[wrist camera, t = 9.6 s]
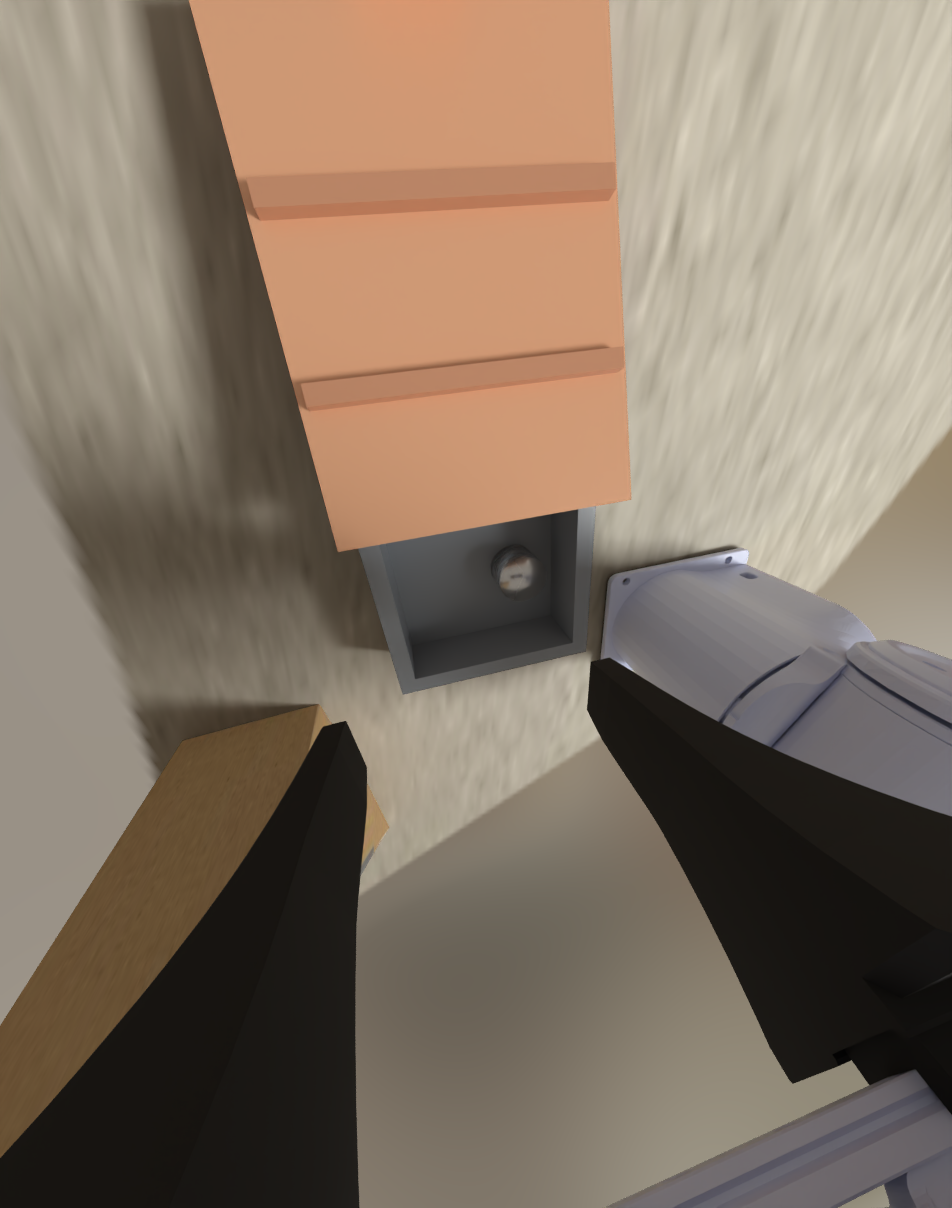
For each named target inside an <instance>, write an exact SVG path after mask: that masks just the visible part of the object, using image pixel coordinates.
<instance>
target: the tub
mask: <svg viewBox="0 0 952 1208" xmlns="http://www.w3.org/2000/svg"><path fill="white" fill-rule="evenodd" d="M595 511H596V506H593V507H587V508H582V509H576V510H571V511H565V512H560V513H554V514H548V515H543V516H537V517H532V518H526V519H520V520H515V521H509V522H504V523H498V524H492V525H487V526H481V527H476V528H470V529H464V530H459V531H453V532H448V533H442V534H436V535H431V536H425V537H420V538H414V539H408V540H403V541H397V542H392V543H386V544H380V545H375V546H369V547H364V548H358V549H359V553H360V556H361V559H362V563H363V566H364V569H365V572H366V576H367V579H368V582H369V585H370V589H371V592H372V595H373V599H374V602H375V605H376V608H377V612H378V615H379V618H380V621H381V625H382V628H383V631H384V635H385V638H386V641H387V644H388V648H389V651H390V654H391V657H392V661H393V664H394V667H395V671H396V674H397V677H398V680H399V684H400V687H401V690H402V693H403V694H408V693H412V692H416V691H420V690H425V689H429V688H433V687H437V686H441V685H446V684H450V683H454V682H458V681H463V680H467V679H471V678H475V677H480V676H484V675H488V674H492V673H496V672H501V671H505V670H509V669H513V668H518V667H522V666H526V665H530V664H535V663H539V662H543V661H547V660H552V659H556V658H560V657H564V656H568V655H573V654H577V653H581V652H585V651H586V645H587V630H588V615H589V600H590V585H591V571H592V556H593V541H594V526H595ZM509 545H521V546H524V547H526V548H527V549H528V550H529V551H530V552H531V553H532V554H533V555H534V556H535V557H536V558H537V559H538V560H539V561H540V562H541V563H542V564H543V565H544V567H545V570H546V582H545V585H544V587H543V588H542V590H541V591H540V592H539V593H538V594H537V595H536V596H534V597H533V598H531V599H529V600H526V601H513V600H510V599H509V598H507V597H506V596H505V595H504V594H503V592H502V591H501V589H500V587H499V586H498V584H497V583H496V581H495V579H494V578H493V576H492V573H491V564H492V561H493V558H494V557H495V555H496V554H497V553H498V552H499V551H500V550H501V549H503V548H504V547H506V546H509Z"/></svg>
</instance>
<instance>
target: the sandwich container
mask: <svg viewBox="0 0 952 1208" xmlns="http://www.w3.org/2000/svg"><path fill="white" fill-rule="evenodd" d="M331 724H332V723H331V722H330V720H329V718H328V717H327V715H326V714H325V712H324V711H323V709H322V707H321V706H320V705H319V704H317V705H313V706H310V707H306V708H302V709H298V710H295V711H291V712H287V713H283V714H280V715H276V716H272V717H268V718H265V719H261V720H257V721H254V722H250V723H246V724H242V725H239V726H235V727H231V728H228V729H224V730H220V731H217V732H213V733H209V734H206V735H202V736H198V737H195V738H191V739H187V740H184V741H182V742H181V744H180V745H179V747H178V748H177V750H176V752H175V753H174V755H173V756H172V758H171V759H170V761H169V763H168V764H167V766H166V767H165V769H164V770H163V772H162V773H161V775H160V777H159V778H158V780H157V781H156V783H155V784H154V786H153V787H152V789H151V791H150V792H149V794H148V795H147V797H146V799H145V800H144V802H143V803H142V805H141V806H140V808H139V809H138V811H137V812H136V814H135V816H134V817H133V819H132V820H131V822H130V823H129V825H128V827H127V828H126V830H125V831H124V833H123V835H122V836H121V838H120V839H119V841H118V842H117V844H116V846H115V847H114V849H113V850H112V852H111V853H110V855H109V856H108V858H107V859H106V861H105V863H104V864H103V866H102V867H101V869H100V870H99V872H98V873H97V875H96V877H95V878H94V880H93V881H92V883H91V884H90V886H89V888H88V889H87V891H86V893H85V894H84V895H83V897H82V898H81V900H80V902H79V903H78V905H77V906H76V908H75V909H74V911H73V913H72V914H71V916H70V918H69V919H68V920H67V922H66V924H65V925H64V927H63V928H62V930H61V931H60V933H59V934H58V936H57V938H56V939H55V941H54V942H53V944H52V946H51V947H50V949H49V950H48V952H47V953H46V955H45V956H44V958H43V960H42V961H41V963H40V964H39V966H38V967H37V969H36V971H35V972H34V974H33V975H32V977H31V978H30V980H29V982H28V983H27V985H26V987H25V988H24V990H23V991H22V992H21V994H20V996H19V997H18V999H17V1000H16V1002H15V1004H14V1005H13V1007H12V1008H11V1010H10V1011H9V1013H8V1014H7V1016H6V1018H5V1019H4V1021H3V1022H2V1024H1V1026H0V1158H1V1157H2V1155H3V1154H4V1153H5V1152H6V1151H7V1150H8V1149H9V1148H10V1147H11V1145H12V1144H13V1143H14V1142H15V1141H16V1140H17V1139H18V1138H19V1137H20V1136H21V1134H22V1133H23V1132H24V1131H25V1130H26V1129H27V1128H28V1127H29V1126H30V1125H31V1123H32V1122H33V1121H34V1120H35V1119H36V1118H37V1117H38V1116H39V1115H40V1113H41V1112H42V1111H43V1110H44V1109H45V1108H46V1107H47V1106H48V1105H49V1103H50V1102H51V1101H52V1100H53V1099H54V1098H55V1097H56V1095H57V1094H58V1093H59V1092H60V1091H61V1090H62V1088H63V1087H64V1086H65V1085H66V1084H67V1083H68V1082H69V1080H70V1079H71V1078H72V1077H73V1076H74V1075H75V1074H76V1072H77V1071H78V1070H79V1069H80V1068H81V1066H82V1065H83V1064H84V1063H85V1062H86V1060H87V1059H88V1058H89V1057H90V1056H91V1055H92V1053H93V1052H94V1051H95V1050H96V1049H97V1047H98V1046H99V1045H100V1044H101V1043H102V1042H103V1040H104V1039H105V1038H106V1037H107V1036H108V1034H109V1033H110V1032H111V1031H112V1030H113V1028H114V1027H115V1026H116V1025H117V1024H118V1023H119V1021H120V1020H121V1019H122V1018H123V1017H124V1015H125V1014H126V1013H127V1012H128V1011H129V1009H130V1008H131V1007H132V1006H133V1005H134V1004H135V1002H136V1001H137V1000H138V999H139V998H140V996H141V995H142V994H143V993H144V991H145V990H146V989H147V988H148V987H149V985H150V984H151V983H152V982H153V980H154V979H155V978H156V977H157V975H158V974H159V973H160V972H161V970H162V969H163V968H164V967H165V965H166V964H167V963H168V961H169V960H170V959H171V958H172V956H173V955H174V954H175V952H176V951H177V950H178V948H179V947H180V946H181V944H182V943H183V942H184V941H185V939H186V938H187V937H188V935H189V934H190V933H191V931H192V930H193V929H194V928H195V926H196V925H197V924H198V922H199V921H200V920H201V918H202V917H203V916H204V914H205V913H206V912H207V910H208V909H209V908H210V906H211V905H212V903H213V902H214V901H215V899H216V898H217V896H218V895H219V894H220V892H221V891H222V890H223V888H224V887H225V885H226V884H227V882H228V881H229V880H230V878H231V877H232V875H233V874H234V872H235V871H236V869H237V868H238V867H239V865H240V864H241V862H242V861H243V859H244V858H245V856H246V855H247V853H248V852H249V850H250V849H251V847H252V845H253V844H254V842H255V841H256V839H257V838H258V836H259V835H260V833H261V831H262V830H263V828H264V827H265V825H266V824H267V822H268V821H269V819H270V817H271V816H272V814H273V813H274V811H275V809H276V808H277V806H278V804H279V802H280V801H281V799H282V797H283V796H284V794H285V792H286V791H287V789H288V787H289V786H290V784H291V782H292V781H293V779H294V777H295V775H296V773H297V772H298V770H299V768H300V766H301V765H302V763H303V761H304V759H305V757H306V756H307V754H308V752H309V750H310V748H311V747H312V745H313V743H314V741H315V739H316V737H317V736H318V734H319V732H320V730H321V729H322V727H323V726H327V725H331ZM388 829H389V826H388V824H387V822H386V820H385V818H384V816H383V814H382V812H381V810H380V808H379V806H378V804H377V802H376V800H375V798H374V796H373V794H372V792H371V790H370V788H369V786H368V784H367V813H366V824H365V835H364V845H363V855H362V865H361V874H362V872H363V871H364V869H365V867H366V866H367V864H368V862H369V860H370V859H371V857H372V855H373V853H374V852H375V850H376V848H377V847H378V845H379V843H380V842H381V840H382V839H383V837H384V835H385V834H386V832H387V831H388ZM360 876H361V875H360Z"/></svg>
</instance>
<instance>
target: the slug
mask: <svg viewBox="0 0 952 1208" xmlns="http://www.w3.org/2000/svg"><path fill="white" fill-rule="evenodd" d="M491 573H492V576H493V578H494V579H495V581H496V583H497V584H498V586H499V587H500V589H501V591H502V592H503V594H504V595H505V596H506V597H507V598H509V599H510V600H513V601H526V600H529V599H531V598H533V597H534V596H536V595H537V594H538V593H539V592H540V591H541V590H542V588H543V587H544V585H545V582H546V570H545V567H544V565H543V564H542V563H541V562H540V561H539V560H538V559H537V558H536V557H535V556H534V555H533V554H532V553H531V552H530V551H529V550H528V549H527V548H526V547H524V546H521V545H509V546H506V547H504V548H503V549H501V550H500V551H499V552H498V553H497V554H496V555H495V557H494V558H493V561H492V564H491Z"/></svg>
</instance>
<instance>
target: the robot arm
mask: <svg viewBox="0 0 952 1208" xmlns="http://www.w3.org/2000/svg"><path fill="white" fill-rule="evenodd" d="M748 556H749V551H748V550H746V549H744V548H737V549H732V550H727V551H723V552H718V553H713V554H708V555H703V556H699V557H694V558H689V559H684V560H679V561H674V562H670V563H665V564H660V565H655V566H650V567H646V568H641V569H636V570H631V571H626V572H622V573H617V574H614V575H612V576H611V577H610V579H609V581H608V587H607V597H606V608H605V618H604V628H603V639H602V649H601V660H597V661H593V662H591V666H590V679H589V692H588V705H587V710H588V712H589V715H590V717H591V719H592V721H593V723H594V725H595V727H596V729H597V731H598V732H599V734H600V736H601V738H602V740H603V742H604V743H605V745H606V746H607V748H608V750H609V751H610V753H611V754H612V756H613V757H614V759H615V760H616V761H617V763H618V765H619V766H620V768H621V769H622V771H623V772H624V774H625V775H626V777H627V778H628V780H629V781H630V783H631V784H632V786H633V787H634V789H635V790H636V792H637V793H638V795H639V796H640V798H641V799H642V801H643V802H644V803H645V805H646V807H647V808H648V810H649V811H650V813H651V814H652V816H653V817H654V819H655V821H656V822H657V824H658V825H659V827H660V829H661V830H662V832H663V834H664V836H665V838H666V839H667V841H668V843H669V845H670V847H671V849H672V850H673V852H674V854H675V856H676V858H677V859H678V861H679V863H680V865H681V867H682V868H683V870H684V872H685V874H686V876H687V878H688V880H689V882H690V884H691V886H692V888H693V889H694V891H695V893H696V895H697V897H698V899H699V901H700V903H701V904H702V907H703V908H704V910H705V912H706V914H707V916H708V918H709V920H710V922H711V924H712V926H713V928H714V930H715V932H716V934H717V936H718V938H719V940H720V942H721V944H722V946H723V948H724V950H725V952H726V954H727V956H728V958H729V960H730V962H731V965H732V967H733V969H734V971H735V973H736V975H737V977H738V979H739V982H740V984H741V986H742V988H743V990H744V992H745V994H746V996H747V998H748V1000H749V1003H750V1005H751V1007H752V1009H753V1011H754V1013H755V1015H756V1017H757V1020H758V1022H759V1024H760V1026H761V1029H762V1031H763V1033H764V1035H765V1038H766V1039H767V1042H768V1044H769V1046H770V1048H771V1050H772V1052H773V1053H774V1055H775V1057H776V1059H777V1060H778V1062H779V1063H780V1065H781V1067H782V1069H783V1070H784V1072H785V1074H786V1075H787V1077H788V1079H789V1080H790V1081H791V1082H792V1083H796V1082H799V1081H801V1080H804V1079H806V1078H809V1077H811V1076H814V1075H816V1074H819V1073H821V1072H824V1071H827V1070H829V1069H832V1068H835V1067H837V1066H840V1065H842V1064H844V1063H846V1062H849V1061H851V1060H852V1061H853V1063H854V1064H855V1065H856V1067H857V1068H858V1070H859V1071H860V1072H861V1074H862V1075H863V1077H864V1078H865V1080H866V1081H867V1082H868V1084H869V1085H870V1086H867V1087H865V1088H863V1089H861V1090H859V1091H857V1092H855V1093H852V1094H850V1095H848V1096H846V1097H844V1098H842V1099H839V1100H837V1101H835V1102H833V1103H830V1104H828V1105H826V1106H824V1107H822V1108H820V1109H817V1110H815V1111H813V1112H811V1113H809V1114H807V1115H804V1116H803V1117H800V1118H798V1119H796V1120H793V1121H791V1122H789V1123H787V1124H785V1125H783V1126H781V1127H778V1128H776V1129H774V1130H772V1131H770V1132H768V1133H765V1134H763V1135H761V1136H759V1137H757V1138H754V1139H752V1140H750V1141H748V1142H746V1143H744V1144H741V1145H739V1146H737V1147H735V1148H733V1149H730V1150H728V1151H726V1152H724V1153H722V1154H720V1155H717V1156H715V1157H713V1158H711V1159H709V1160H707V1161H704V1162H702V1163H700V1164H698V1165H696V1166H694V1167H691V1168H689V1169H687V1170H685V1171H683V1172H680V1173H678V1174H676V1175H674V1176H672V1177H670V1178H667V1179H665V1180H663V1181H661V1182H659V1183H657V1184H654V1185H652V1186H650V1187H648V1188H646V1189H644V1190H641V1191H639V1192H637V1193H635V1194H633V1195H630V1196H629V1197H626V1198H624V1199H622V1200H620V1201H617V1202H615V1203H613V1204H611V1205H609V1206H607V1207H604V1208H838V1207H840V1206H842V1205H844V1204H845V1203H848V1202H850V1201H852V1200H854V1199H856V1198H857V1197H859V1196H861V1195H863V1194H865V1193H867V1192H869V1191H871V1190H873V1189H875V1188H877V1187H879V1186H881V1185H883V1184H884V1186H885V1190H886V1193H887V1196H888V1199H889V1204H890V1206H889V1207H887V1208H952V660H951V659H949V658H946V657H943V656H941V655H938V654H935V653H933V652H930V651H927V650H924V649H921V648H918V647H915V646H912V645H909V644H905V643H902V642H898V641H894V640H882V641H877V640H876V639H875V637H874V635H873V634H872V633H871V631H870V630H869V629H868V628H867V626H866V625H865V624H864V623H863V622H862V621H861V620H860V619H859V618H857V617H856V616H855V615H854V614H853V613H851V612H850V611H848V610H847V609H845V608H844V607H842V606H840V605H837V604H835V603H833V602H831V601H829V600H827V599H824V598H822V597H819V596H817V595H815V594H813V593H811V592H808V591H806V590H804V589H801V588H799V587H797V586H795V585H792V584H790V583H788V582H785V581H783V580H781V579H779V578H776V577H774V576H772V575H769V574H767V573H765V572H763V571H760V570H758V569H756V568H753V567H751V566H749V565H746V563H747V560H748ZM625 578H626V581H625V582H623V580H624V579H625ZM622 582H623V583H622ZM631 670H634V671H635V673H634V672H633V671H631ZM366 813H367V767H366V764H365V762H364V760H363V758H362V755H361V753H360V751H359V749H358V746H357V744H356V742H355V740H354V738H353V735H352V733H351V731H350V729H349V726H348V724H347V722H346V721H344V722H339V723H335V724H331V725H327V726H323V727H322V729H321V730H320V732H319V734H318V736H317V737H316V739H315V741H314V743H313V745H312V747H311V748H310V750H309V752H308V754H307V756H306V757H305V759H304V761H303V763H302V765H301V766H300V768H299V770H298V772H297V773H296V775H295V777H294V779H293V781H292V782H291V784H290V786H289V787H288V789H287V791H286V792H285V794H284V796H283V797H282V799H281V801H280V802H279V804H278V806H277V808H276V809H275V811H274V813H273V814H272V816H271V817H270V819H269V821H268V822H267V824H266V825H265V827H264V828H263V830H262V831H261V833H260V835H259V836H258V838H257V839H256V841H255V842H254V844H253V845H252V847H251V849H250V850H249V852H248V853H247V855H246V856H245V858H244V859H243V861H242V862H241V864H240V865H239V867H238V868H237V869H236V871H235V872H234V874H233V875H232V877H231V878H230V880H229V881H228V882H227V884H226V885H225V887H224V888H223V890H222V891H221V892H220V894H219V895H218V896H217V898H216V899H215V901H214V902H213V903H212V905H211V906H210V908H209V909H208V910H207V912H206V913H205V914H204V916H203V917H202V918H201V920H200V921H199V922H198V924H197V925H196V926H195V928H194V929H193V930H192V931H191V933H190V934H189V935H188V937H187V938H186V939H185V941H184V942H183V943H182V944H181V946H180V947H179V948H178V950H177V951H176V952H175V954H174V955H173V956H172V958H171V959H170V960H169V961H168V963H167V964H166V965H165V967H164V968H163V969H162V970H161V972H160V973H159V974H158V975H157V977H156V978H155V979H154V980H153V982H152V983H151V984H150V985H149V987H148V988H147V989H146V990H145V991H144V993H143V994H142V995H141V996H140V998H139V999H138V1000H137V1001H136V1002H135V1004H134V1005H133V1006H132V1007H131V1008H130V1009H129V1011H128V1012H127V1013H126V1014H125V1015H124V1017H123V1018H122V1019H121V1020H120V1021H119V1023H118V1024H117V1025H116V1026H115V1027H114V1028H113V1030H112V1031H111V1032H110V1033H109V1034H108V1036H107V1037H106V1038H105V1039H104V1040H103V1042H102V1043H101V1044H100V1045H99V1046H98V1047H97V1049H96V1050H95V1051H94V1052H93V1053H92V1055H91V1056H90V1057H89V1058H88V1059H87V1060H86V1062H85V1063H84V1064H83V1065H82V1066H81V1068H80V1069H79V1070H78V1071H77V1072H76V1074H75V1075H74V1076H73V1077H72V1078H71V1079H70V1080H69V1082H68V1083H67V1084H66V1085H65V1086H64V1087H63V1088H62V1090H61V1091H60V1092H59V1093H58V1094H57V1095H56V1097H55V1098H54V1099H53V1100H52V1101H51V1102H50V1103H49V1105H48V1106H47V1107H46V1108H45V1109H44V1110H43V1111H42V1112H41V1113H40V1115H39V1116H38V1117H37V1118H36V1119H35V1120H34V1121H33V1122H32V1123H31V1125H30V1126H29V1127H28V1128H27V1129H26V1130H25V1131H24V1132H23V1133H22V1134H21V1136H20V1137H19V1138H18V1139H17V1140H16V1141H15V1142H14V1143H13V1144H12V1145H11V1147H10V1148H9V1149H8V1150H7V1151H6V1152H5V1153H4V1154H3V1155H2V1157H1V1158H0V1208H359V1186H358V1158H357V1157H358V1155H357V1118H356V1060H355V1059H356V1058H355V1057H356V1056H355V971H356V921H357V907H358V895H359V885H360V875H361V865H362V855H363V845H364V835H365V824H366Z"/></svg>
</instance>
